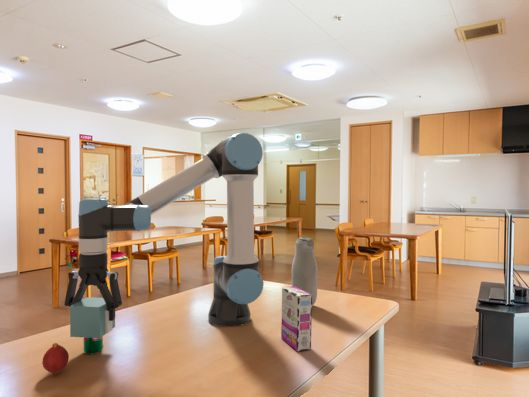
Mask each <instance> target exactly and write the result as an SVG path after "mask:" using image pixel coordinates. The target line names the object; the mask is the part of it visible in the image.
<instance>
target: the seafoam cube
mask: <svg viewBox="0 0 529 397" xmlns="http://www.w3.org/2000/svg"><path fill="white" fill-rule="evenodd" d="M107 309H108V307H107V305H106V303H105V301H104V299H103V297H92V296H91V297H88V296H87V297H85V298H82V300H81V301H79V302H77V303H75V304H73V305H71V306H70V307H69V312H70V315H69V316H70V317H69V318H70V322H69V324H70V330H69V334H70V335H69V336H70V338H84V337H86V338H101V337H102V336H103V337H104V336H105V335H106V334H107V333H105V310H107ZM114 328H116V318H115V319H114V320H113V321H112V330H113V329H114Z"/></svg>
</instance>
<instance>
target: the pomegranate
mask: <svg viewBox="0 0 529 397" xmlns="http://www.w3.org/2000/svg"><path fill="white" fill-rule="evenodd" d="M69 358H70V355H69V352H68V350H67V349H66V348H65V346H62V345H60V344H58V342H54V343H53V344H52V345H51V347H50V348H48V350H46V351H45V353H44V355H43V357H42V363H41V364H42V367H43V369H44V370H45V371H46V372H49V373H51V374H52V375H54V376H55V375H58V374H60V373H61V371H63V370H64V369H65V368H66V367H67V365H68V363H69Z"/></svg>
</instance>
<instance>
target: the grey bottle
mask: <svg viewBox="0 0 529 397" xmlns="http://www.w3.org/2000/svg"><path fill="white" fill-rule="evenodd" d="M294 244H295V247H294V248H295V250H294V255H293V256H294V257H293V258H292V259H293V260H292V263H291V287H297V288H299V289H301V290H303V291H305V292H307V293H309V294H311V295H312V306H313V305H315V303H316V302H317V299H318V298H317V297H318V279H319V278H318V277H319V275H318V274H319V273H318V272H319V269H318V268H319V267H318V263H317V262H318V261H317V259H316V254H315V250H314V248H315V247H314V246H315V244H314V240H313V239H312V238H310V237H307V236H300V237H298V238H297V239H296V241H295V243H294Z"/></svg>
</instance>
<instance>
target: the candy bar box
mask: <svg viewBox="0 0 529 397" xmlns="http://www.w3.org/2000/svg"><path fill="white" fill-rule="evenodd" d="M312 318H313V305H312V295H311V294H309V293H307V292H305V291H303V290H301V289H299V288H297V287H292V286H286V287H282V288H281V329H280V330H281V331H280V332H281V334H280V335H281V336H280V337H281V338H280V339H281V340H282V341H284V342H285V343H286V345H287V344H288V346H289V347H291V348H293V349H294V350H295V351H296V352H298V353H299V352H304V351H311V349H312Z"/></svg>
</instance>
